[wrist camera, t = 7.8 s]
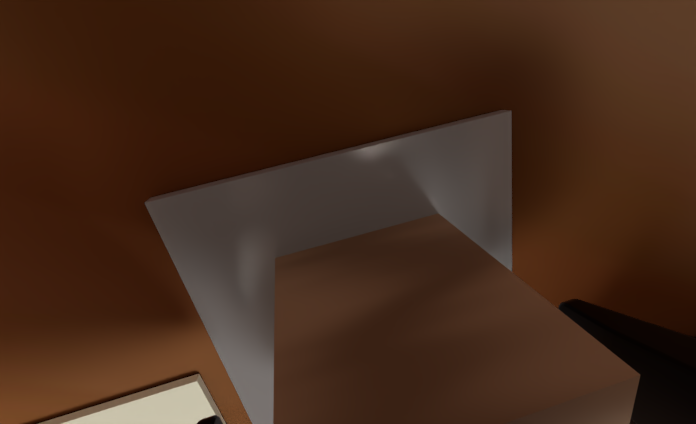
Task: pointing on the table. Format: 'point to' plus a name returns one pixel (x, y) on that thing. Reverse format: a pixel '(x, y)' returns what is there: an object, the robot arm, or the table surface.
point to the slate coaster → (325, 225)
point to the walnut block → (431, 338)
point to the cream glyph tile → (151, 406)
